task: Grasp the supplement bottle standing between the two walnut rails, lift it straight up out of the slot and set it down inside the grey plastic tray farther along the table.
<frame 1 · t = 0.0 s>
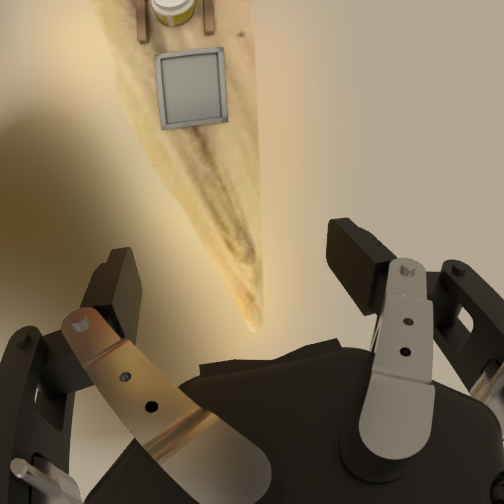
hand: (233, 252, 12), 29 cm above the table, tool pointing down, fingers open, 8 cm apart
tray: (191, 87, 33), on the table
supplement bottle: (175, 11, 28), on the table
slot rails: (175, 11, 27), on the table
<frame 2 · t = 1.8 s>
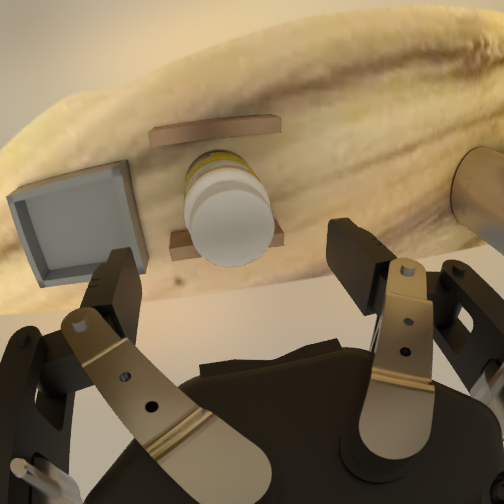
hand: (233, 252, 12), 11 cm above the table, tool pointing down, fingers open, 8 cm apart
tray: (80, 222, 21), on the table
supplement bottle: (218, 180, 21), on the table
slot rails: (218, 181, 21), on the table
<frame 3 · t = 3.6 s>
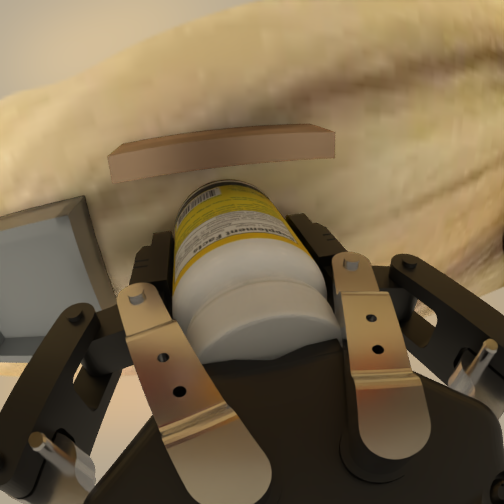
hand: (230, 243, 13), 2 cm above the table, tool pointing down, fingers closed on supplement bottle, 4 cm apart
tray: (31, 282, 13), on the table
supplement bottle: (225, 225, 14), on the table, touching gripper
slot rails: (226, 227, 14), on the table
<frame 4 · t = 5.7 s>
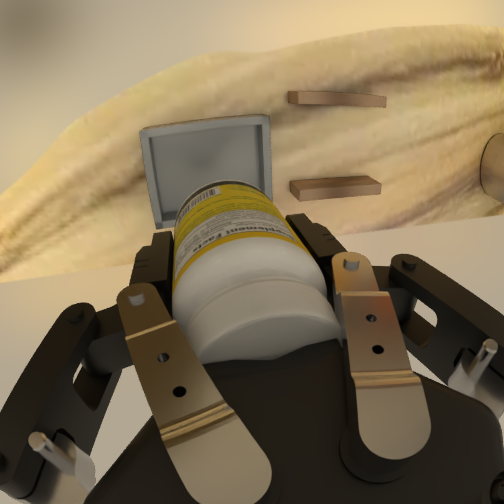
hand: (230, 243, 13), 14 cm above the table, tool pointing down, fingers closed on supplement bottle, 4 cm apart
tray: (207, 166, 24), on the table
supplement bottle: (225, 224, 14), point 12 cm above the table, touching gripper
slot rails: (332, 141, 25), on the table
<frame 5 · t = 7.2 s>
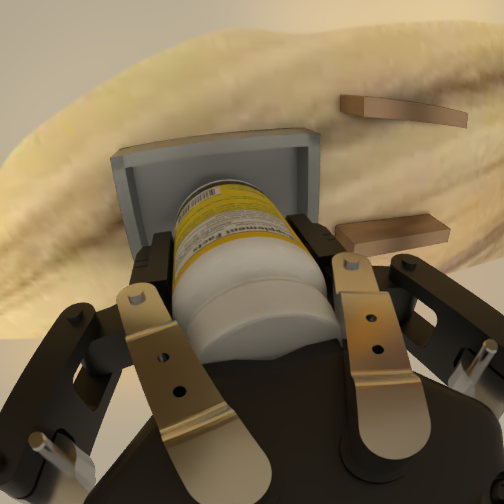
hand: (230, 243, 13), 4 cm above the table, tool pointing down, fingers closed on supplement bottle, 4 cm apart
tray: (219, 206, 16), on the table
supplement bottle: (225, 224, 14), point 3 cm above the table, touching gripper
slot rails: (393, 169, 17), on the table
when the fingers open (4 cm above the table, at t = 8.2 s): supplement bottle drops 2 cm, resting on tray.
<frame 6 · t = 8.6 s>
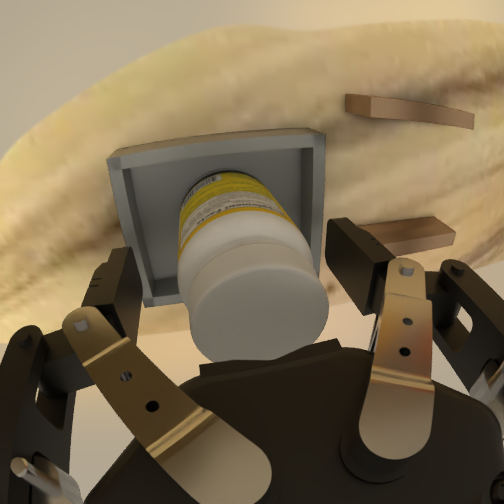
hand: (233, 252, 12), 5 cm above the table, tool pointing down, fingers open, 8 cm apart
tray: (220, 209, 16), on the table
supplement bottle: (226, 210, 16), resting on tray
slot rails: (399, 170, 17), on the table
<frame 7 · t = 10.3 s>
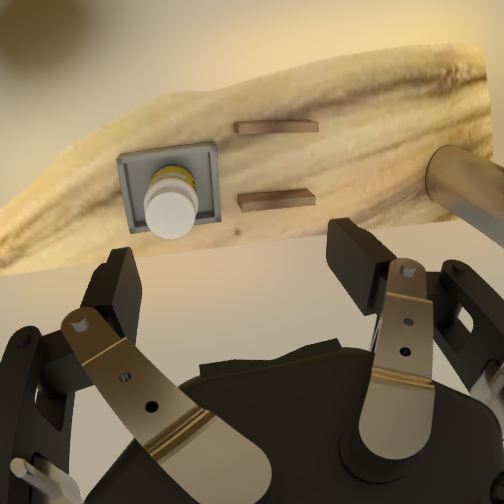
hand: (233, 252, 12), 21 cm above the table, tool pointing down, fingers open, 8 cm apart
tray: (170, 184, 30), on the table
supplement bottle: (172, 184, 30), resting on tray
slot rails: (273, 161, 32), on the table
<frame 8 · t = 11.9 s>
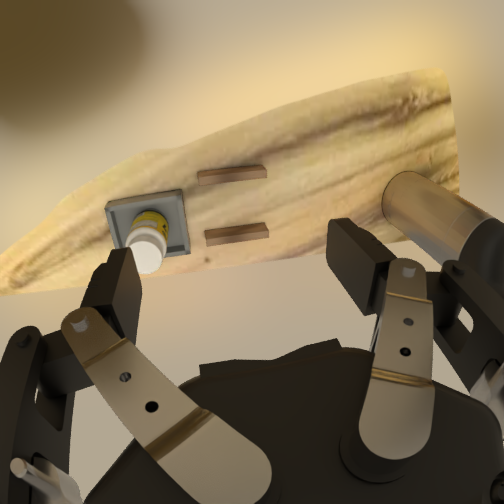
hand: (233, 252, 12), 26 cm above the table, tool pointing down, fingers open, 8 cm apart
tray: (149, 224, 38), on the table
supplement bottle: (151, 224, 37), resting on tray
slot rails: (232, 201, 39), on the table
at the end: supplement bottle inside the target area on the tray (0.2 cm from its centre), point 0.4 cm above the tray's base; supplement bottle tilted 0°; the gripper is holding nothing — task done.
